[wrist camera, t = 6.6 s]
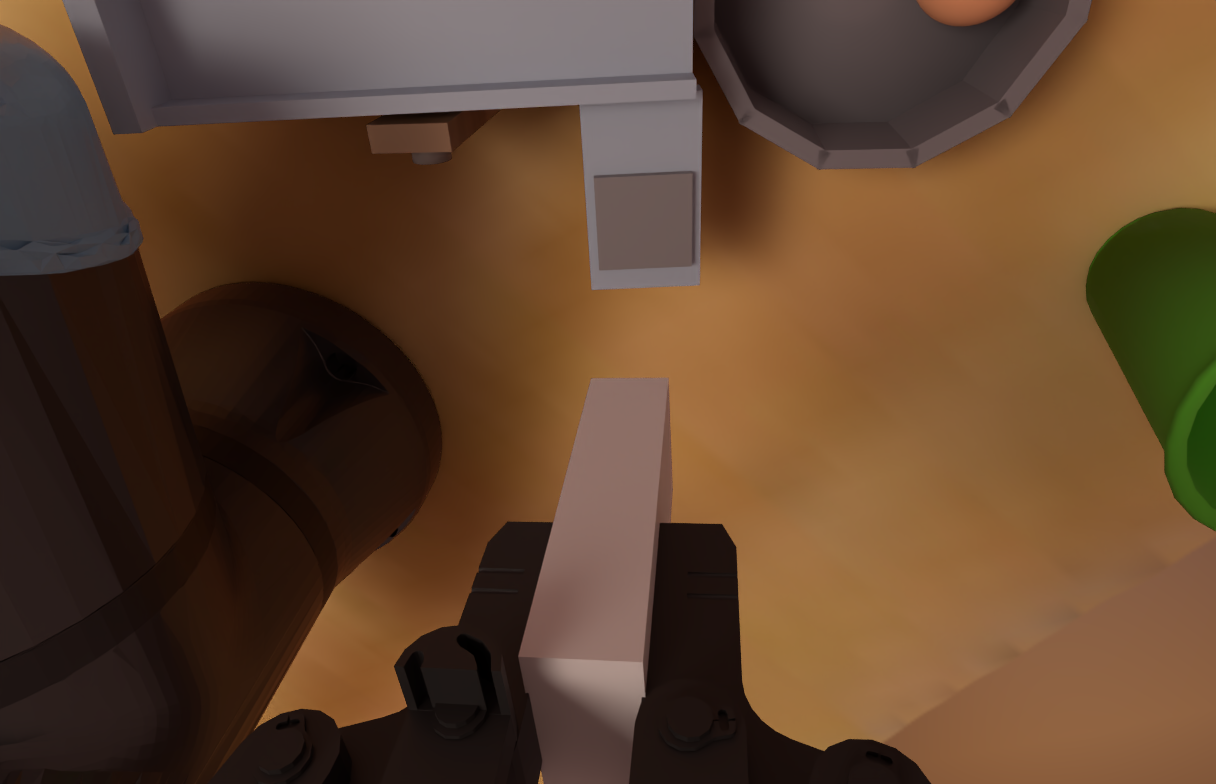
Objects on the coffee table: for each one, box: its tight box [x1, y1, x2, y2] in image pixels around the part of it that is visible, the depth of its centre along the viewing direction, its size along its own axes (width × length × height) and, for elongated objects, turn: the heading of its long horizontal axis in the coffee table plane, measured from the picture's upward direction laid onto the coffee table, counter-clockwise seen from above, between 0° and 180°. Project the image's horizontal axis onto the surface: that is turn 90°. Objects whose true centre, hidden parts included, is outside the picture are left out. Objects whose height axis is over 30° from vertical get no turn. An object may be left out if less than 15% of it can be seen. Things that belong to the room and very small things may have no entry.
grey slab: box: [62, 0, 703, 290], centre depth 22 cm, size 16×12×3 cm
